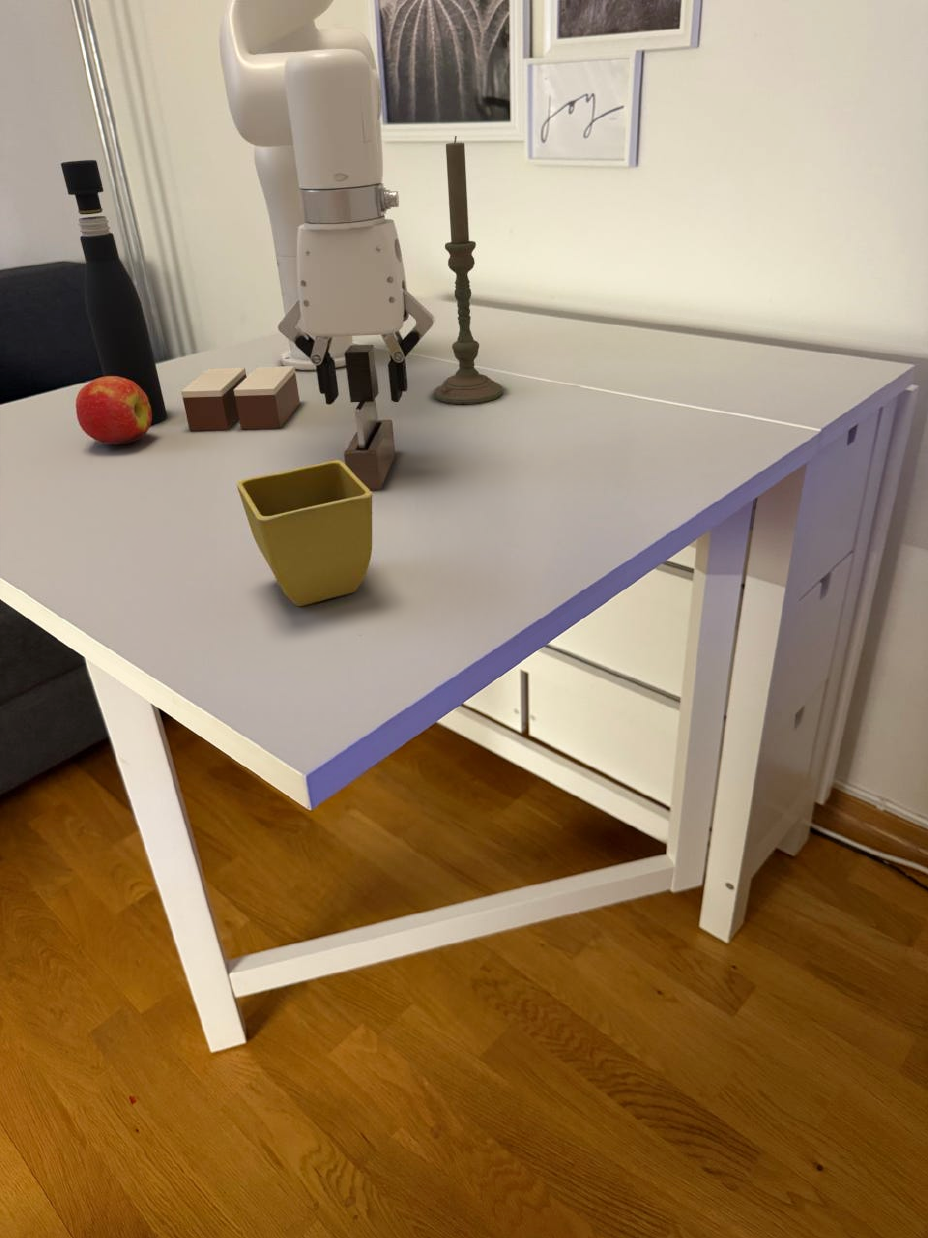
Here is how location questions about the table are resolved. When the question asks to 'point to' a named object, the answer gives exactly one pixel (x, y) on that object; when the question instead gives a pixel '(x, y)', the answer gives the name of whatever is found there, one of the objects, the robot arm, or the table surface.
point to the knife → (363, 391)
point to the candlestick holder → (462, 293)
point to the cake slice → (267, 397)
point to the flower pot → (311, 529)
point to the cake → (213, 399)
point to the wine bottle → (112, 293)
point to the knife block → (372, 456)
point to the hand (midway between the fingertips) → (364, 397)
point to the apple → (113, 410)
